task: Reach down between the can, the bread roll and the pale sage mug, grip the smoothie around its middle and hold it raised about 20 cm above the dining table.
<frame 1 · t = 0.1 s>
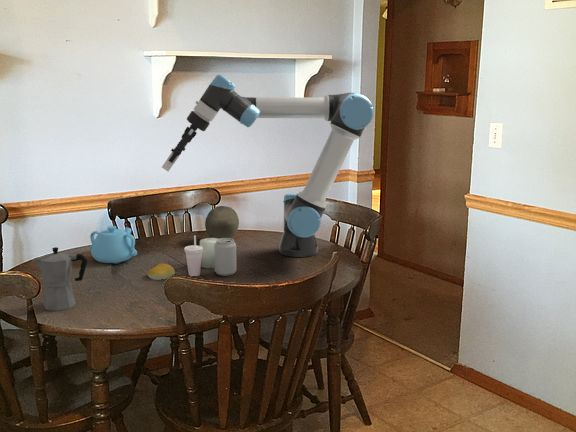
hand: (166, 166, 218), 36 cm above the table, tool tilted 35°, fingers open, 13 cm apart
smoothie: (194, 275, 216), on the table
coffeepot: (63, 305, 188), on the table
cantaloupe: (222, 243, 255), on the table
sage mug: (211, 264, 227), on the table
bread roll: (161, 277, 215), on the table
can: (225, 273, 218), on the table
teapot: (117, 258, 234), on the table
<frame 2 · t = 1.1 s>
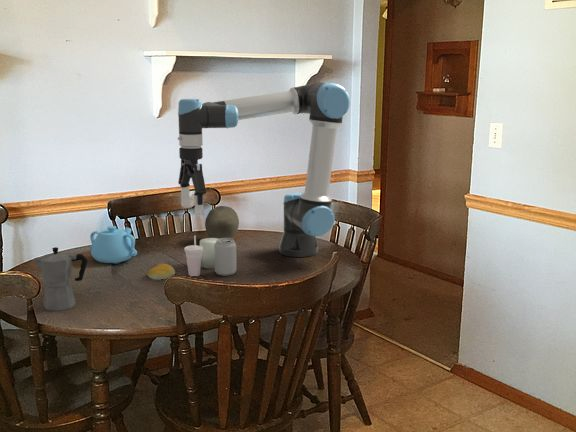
hand: (192, 210, 211), 23 cm above the table, tool pointing down, fingers open, 13 cm apart
nothing on the table moved.
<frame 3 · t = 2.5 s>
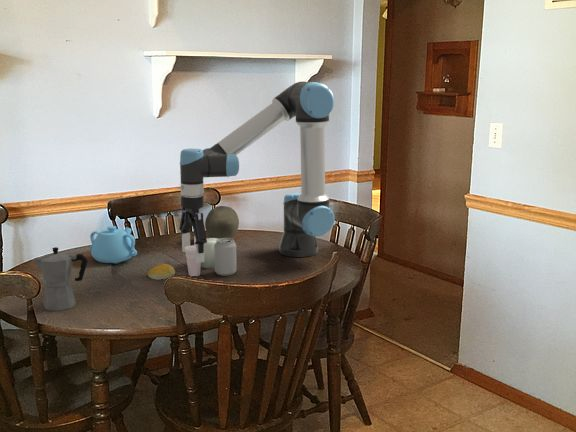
hand: (192, 256, 214), 7 cm above the table, tool pointing down, fingers open, 13 cm apart
nothing on the table moved.
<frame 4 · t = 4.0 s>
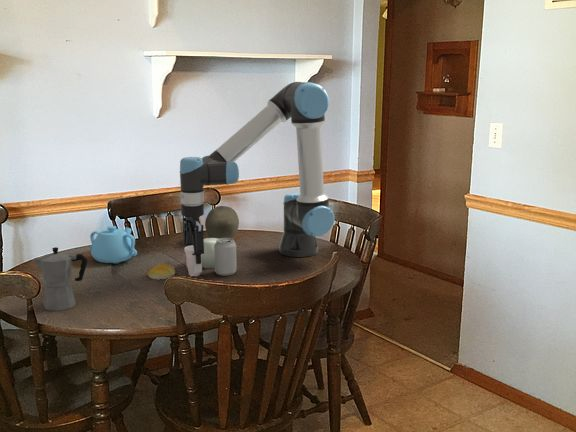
hand: (194, 269, 215), 2 cm above the table, tool pointing down, fingers closed on smoothie, 6 cm apart
smoothie: (194, 275, 216), on the table, touching gripper
everything else where it was.
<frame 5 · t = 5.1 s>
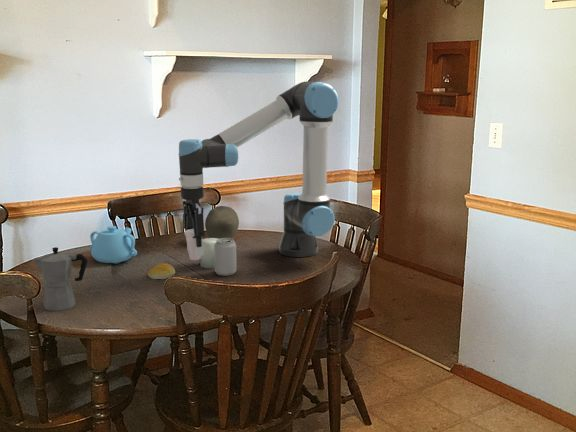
hand: (194, 252, 214), 8 cm above the table, tool pointing down, fingers closed on smoothie, 6 cm apart
smoothie: (195, 258, 215), point 6 cm above the table, touching gripper
everything else where it was.
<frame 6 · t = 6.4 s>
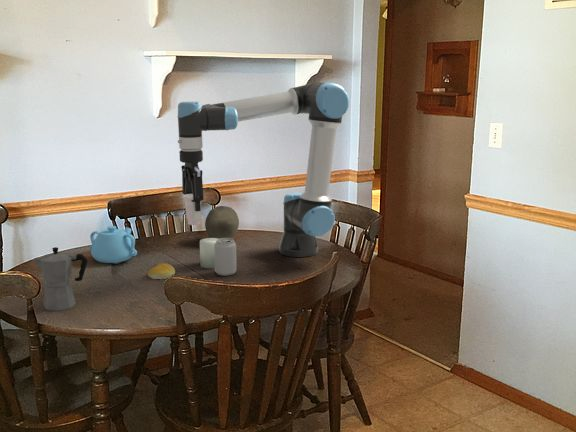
hand: (193, 217, 211), 20 cm above the table, tool pointing down, fingers closed on smoothie, 6 cm apart
smoothie: (193, 224, 212), point 18 cm above the table, touching gripper
everything else where it was.
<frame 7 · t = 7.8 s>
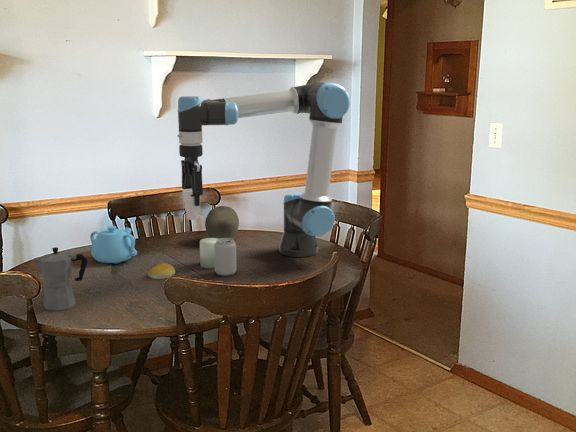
hand: (192, 212, 211), 22 cm above the table, tool pointing down, fingers closed on smoothie, 6 cm apart
smoothie: (192, 219, 211), point 20 cm above the table, touching gripper
everything else where it was.
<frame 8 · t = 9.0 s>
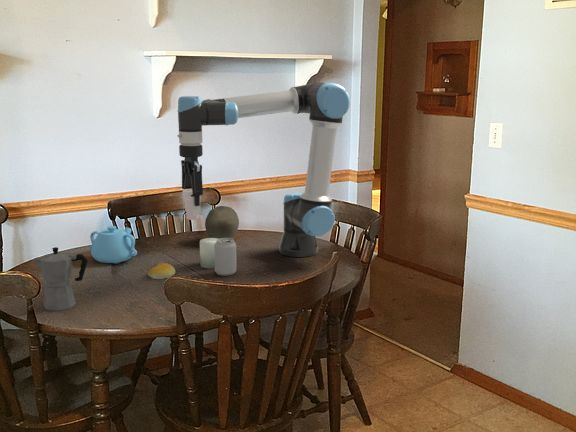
hand: (192, 212, 211), 22 cm above the table, tool pointing down, fingers closed on smoothie, 6 cm apart
smoothie: (192, 219, 211), point 20 cm above the table, touching gripper
everything else where it was.
at the end: the gripper is holding smoothie; smoothie point 19.7 cm above the table; sage mug moved 0.1 cm from its start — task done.
